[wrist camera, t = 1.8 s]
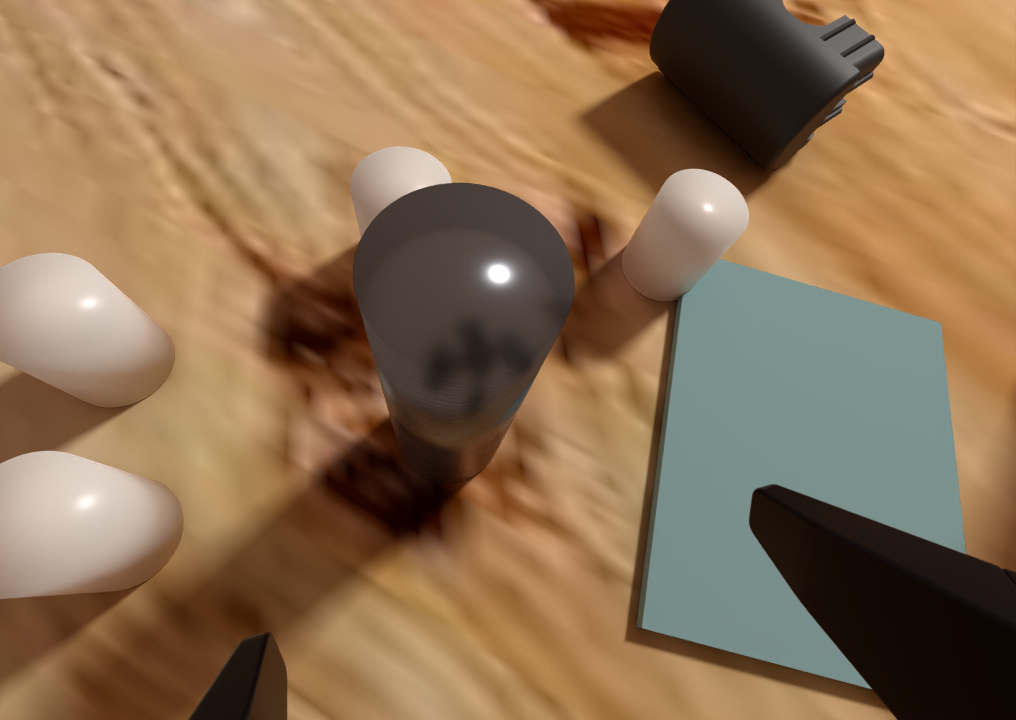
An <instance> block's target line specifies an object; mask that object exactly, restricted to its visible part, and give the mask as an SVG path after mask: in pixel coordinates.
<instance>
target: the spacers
mask: <svg viewBox="0 0 1016 720" xmlns="http://www.w3.org/2000/svg"><path fill="white" fill-rule="evenodd" d="M445 183H452V181H451V177H450V175H449V173H448V171H447V169H446V168H445V167H444V165H443V164H442V163H441V162H440V161H439V160H438V159H436V158H435V157H433V156H432V155H430V154H428V153H426V152H424V151H422V150H419V149H415V148H410V147H389V148H384V149H380V150H378V151H375V152H373V153H371V154H369V155H368V156H366V157H365V158H364V159H363V160H362V161H361V162H360V163H359V164H358V165H357V166H356V168H355V170H354V171H353V174H352V177H351V182H350V188H351V194H352V199H353V204H354V208H355V213H356V217H357V222H358V226H359V231H360V236H361V238H362V236H363V234H364V232H365V230H366V229H367V227H368V226H369V225H370V223H371V222H372V220H373V219H374V218H375V217H376V216H377V215H378V214H379V213H380V212H381V211H382V210H383V209H384V208H386V207H387V206H388V205H389V204H391V203H392V202H394V201H395V200H397V199H399V198H400V197H402V196H404V195H406V194H408V193H410V192H413V191H415V190H418V189H421V188H424V187H428V186H433V185H438V184H445ZM748 220H749V212H748V207H747V204H746V202H745V199H744V198H743V196H742V194H741V193H740V192H739V190H738V189H737V188H736V187H735V186H734V185H733V184H732V183H730V182H729V181H728V180H726V179H725V178H723V177H722V176H720V175H718V174H716V173H713V172H710V171H707V170H702V169H685V170H681V171H678V172H676V173H674V174H673V175H671V176H670V177H669V178H668V179H667V180H666V181H665V183H664V184H663V186H662V188H661V189H660V191H659V193H658V194H657V196H656V198H655V199H654V201H653V203H652V204H651V206H650V208H649V209H648V211H647V213H646V214H645V216H644V218H643V219H642V221H641V223H640V224H639V226H638V228H637V229H636V231H635V233H634V234H633V236H632V238H631V240H630V241H629V243H628V245H627V246H626V248H625V250H624V252H623V255H622V270H623V273H624V275H625V277H626V279H627V281H628V282H629V283H630V285H631V286H632V287H633V288H634V289H635V290H636V291H638V292H639V293H640V294H642V295H644V296H646V297H648V298H650V299H653V300H657V301H674V300H678V299H679V297H680V296H681V295H682V294H683V293H686V292H688V291H689V290H691V289H692V288H693V287H694V286H695V285H696V284H697V283H698V282H699V281H700V279H701V278H702V277H703V276H704V275H705V274H706V273H707V272H708V271H709V270H710V269H711V267H712V266H713V265H714V264H715V263H716V262H717V261H718V260H719V259H720V258H721V257H722V256H723V254H724V253H725V252H726V251H727V250H728V249H729V248H730V247H731V246H732V245H733V244H734V242H735V241H736V240H737V239H738V238H739V237H740V236H741V235H742V234H743V232H744V231H745V229H746V227H747V225H748ZM174 359H175V350H174V345H173V342H172V340H171V338H170V336H169V335H168V333H167V332H166V331H165V330H164V329H163V328H162V327H161V326H159V325H158V324H157V323H156V322H155V321H154V320H153V319H152V318H150V317H149V316H148V315H147V314H146V313H145V312H144V311H143V310H142V309H140V308H139V307H138V306H137V305H136V304H135V303H134V302H133V301H131V300H130V299H129V298H128V297H127V296H126V295H125V294H124V293H122V292H121V291H120V290H119V289H118V288H117V287H116V286H115V285H113V284H112V283H111V282H110V281H109V280H108V279H107V278H106V277H104V276H103V275H102V274H101V273H100V272H99V271H98V270H97V269H95V268H94V267H93V266H92V265H91V264H89V263H88V262H86V261H84V260H82V259H81V258H78V257H75V256H72V255H67V254H61V253H43V254H36V255H30V256H27V257H23V258H20V259H17V260H15V261H12V262H10V263H8V264H6V265H4V266H3V267H1V268H0V361H2V362H4V363H6V364H8V365H10V366H12V367H14V368H16V369H18V370H20V371H23V372H25V373H27V374H29V375H31V376H33V377H35V378H37V379H39V380H41V381H43V382H45V383H47V384H50V385H52V386H54V387H56V388H58V389H60V390H62V391H64V392H66V393H68V394H70V395H72V396H74V397H76V398H79V399H81V400H83V401H85V402H87V403H89V404H92V405H94V406H99V407H106V408H116V407H123V406H127V405H131V404H133V403H136V402H139V401H141V400H143V399H145V398H146V397H148V396H149V395H151V394H152V393H153V392H155V391H156V390H157V389H158V388H159V387H160V386H161V385H162V384H163V383H164V382H165V380H166V379H167V377H168V376H169V374H170V372H171V370H172V367H173V364H174ZM182 531H183V511H182V508H181V505H180V502H179V500H178V499H177V497H176V496H175V494H174V493H173V492H172V491H171V490H170V489H169V488H167V487H166V486H165V485H163V484H161V483H159V482H157V481H154V480H151V479H148V478H145V477H141V476H138V475H135V474H132V473H129V472H126V471H123V470H119V469H116V468H113V467H110V466H107V465H104V464H101V463H98V462H94V461H91V460H88V459H85V458H82V457H79V456H76V455H73V454H69V453H65V452H60V451H38V452H31V453H27V454H23V455H20V456H17V457H14V458H12V459H9V460H7V461H5V462H3V463H1V464H0V599H7V598H22V597H37V596H52V595H67V594H82V593H96V592H111V591H120V590H125V589H128V588H131V587H134V586H136V585H139V584H141V583H143V582H144V581H146V580H148V579H149V578H151V577H152V576H154V575H155V574H156V573H157V572H158V571H160V570H161V569H162V568H163V567H164V566H165V564H166V563H167V562H168V561H169V560H170V558H171V557H172V555H173V554H174V552H175V550H176V549H177V546H178V544H179V542H180V539H181V536H182Z"/></svg>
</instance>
